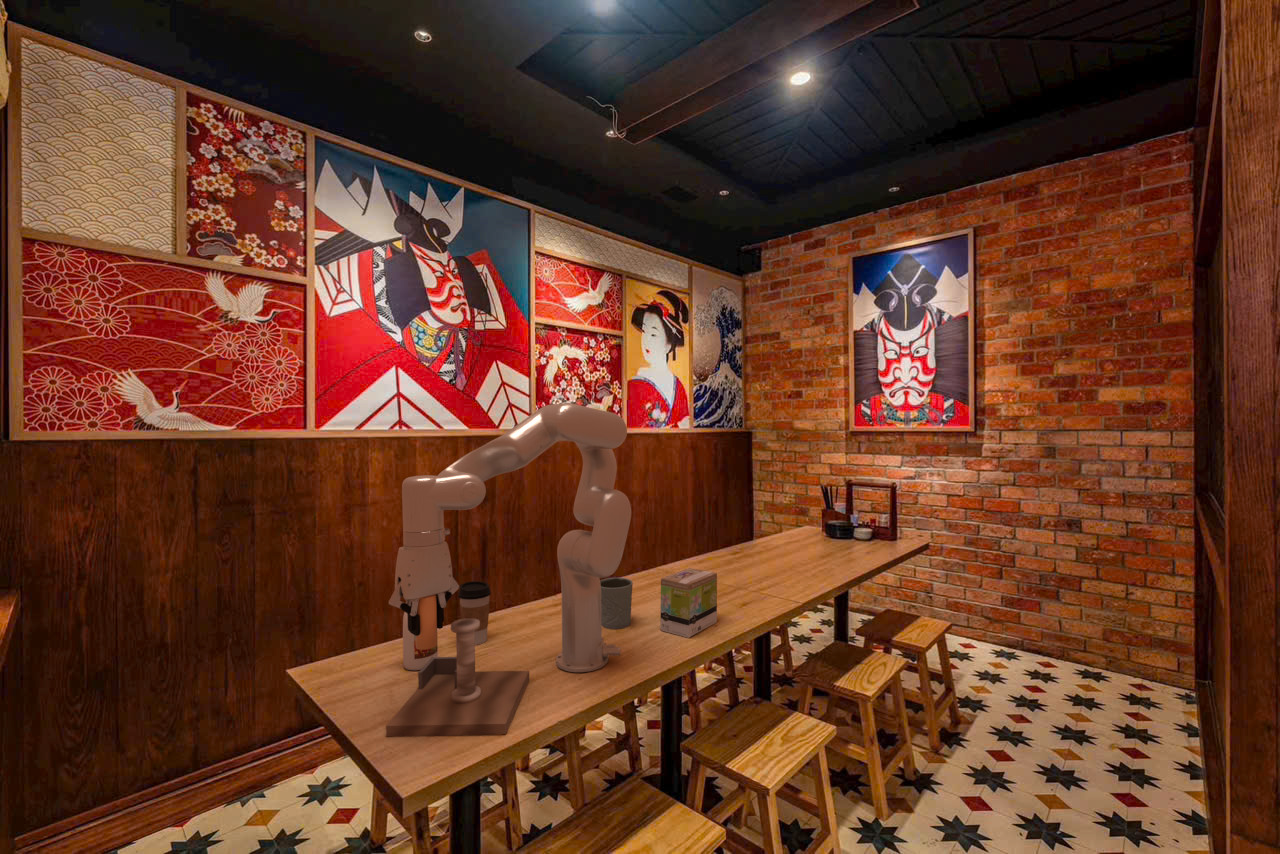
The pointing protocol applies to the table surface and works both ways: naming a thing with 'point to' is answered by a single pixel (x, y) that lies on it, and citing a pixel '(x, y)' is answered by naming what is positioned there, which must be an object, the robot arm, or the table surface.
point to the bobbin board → (462, 697)
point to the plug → (427, 623)
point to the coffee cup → (476, 606)
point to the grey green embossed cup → (616, 602)
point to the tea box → (688, 602)
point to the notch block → (437, 669)
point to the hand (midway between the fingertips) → (426, 629)
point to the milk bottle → (414, 650)
